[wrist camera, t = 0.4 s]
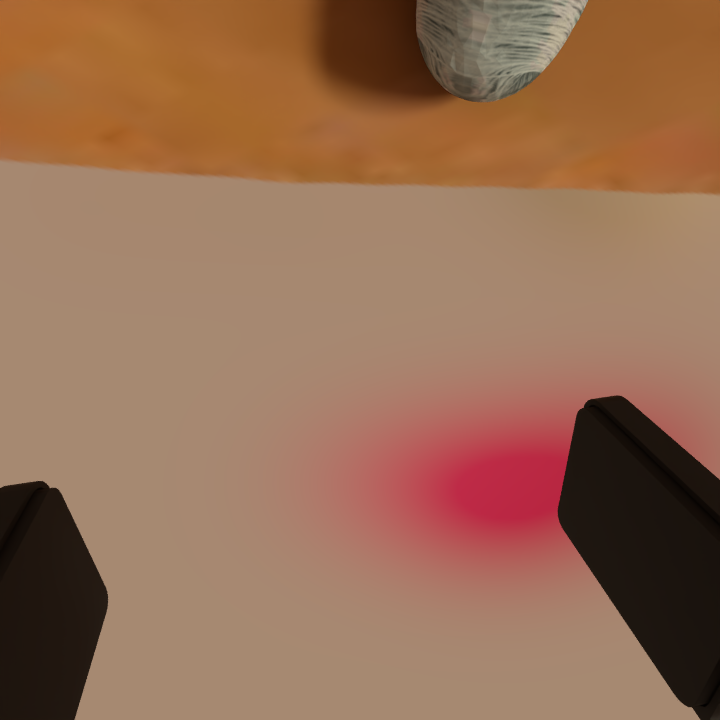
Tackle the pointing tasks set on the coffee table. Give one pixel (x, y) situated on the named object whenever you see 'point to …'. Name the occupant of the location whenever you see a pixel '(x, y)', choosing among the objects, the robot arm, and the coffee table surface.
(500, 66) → the streaked grey egg
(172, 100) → the coffee table surface
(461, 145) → the coffee table surface
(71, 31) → the coffee table surface
